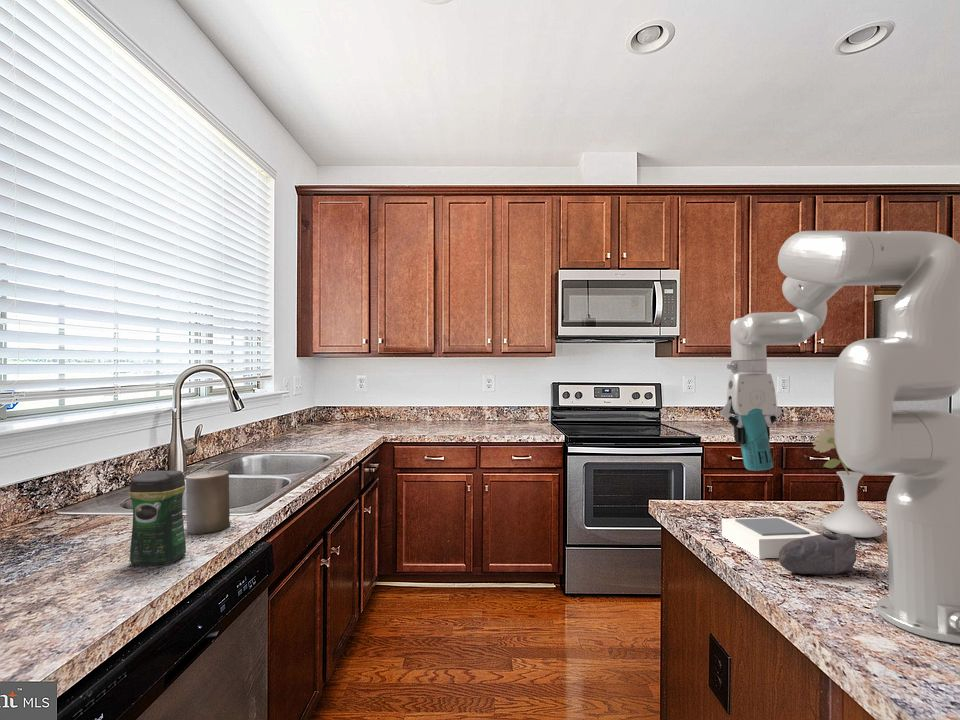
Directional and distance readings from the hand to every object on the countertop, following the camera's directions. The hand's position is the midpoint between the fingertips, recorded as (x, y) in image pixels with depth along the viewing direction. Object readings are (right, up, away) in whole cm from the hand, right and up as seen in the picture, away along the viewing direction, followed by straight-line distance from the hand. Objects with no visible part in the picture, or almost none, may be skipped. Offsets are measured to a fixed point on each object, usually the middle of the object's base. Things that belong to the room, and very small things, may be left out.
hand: (752, 442), depth 120 cm
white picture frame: (-3, -20, -13) cm, 24 cm away
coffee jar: (-133, -22, -16) cm, 136 cm away
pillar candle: (-134, -23, +5) cm, 136 cm away
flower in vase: (+19, -20, -6) cm, 28 cm away
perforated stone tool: (-2, -20, -27) cm, 34 cm away
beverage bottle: (+2, -8, 0) cm, 8 cm away
